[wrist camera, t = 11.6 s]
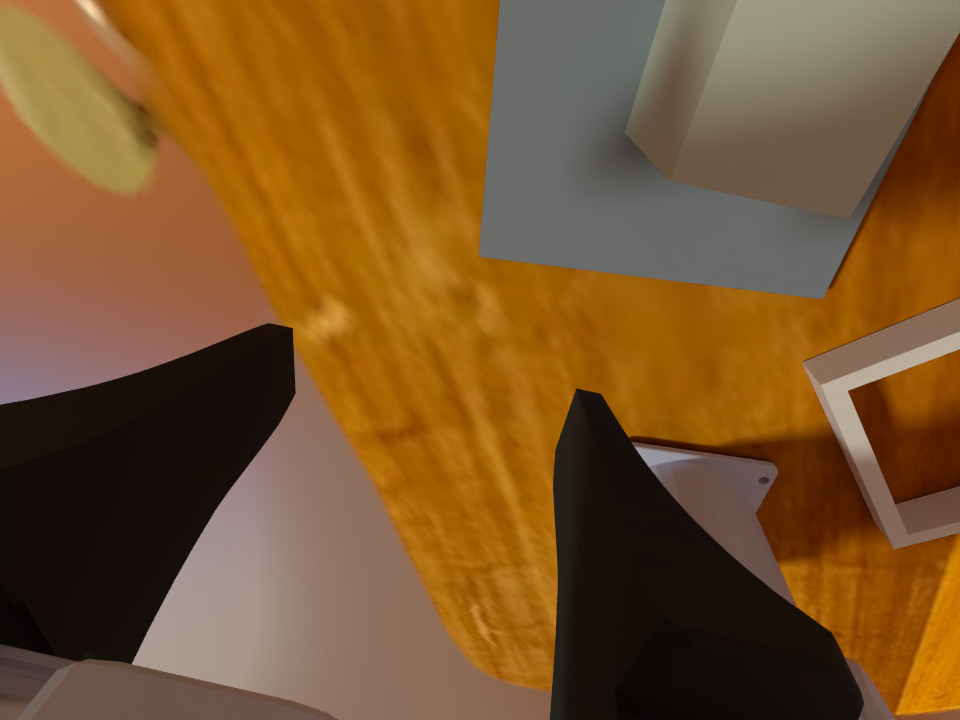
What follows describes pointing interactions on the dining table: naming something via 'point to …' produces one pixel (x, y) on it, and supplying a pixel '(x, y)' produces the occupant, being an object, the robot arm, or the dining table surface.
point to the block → (786, 93)
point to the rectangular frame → (832, 382)
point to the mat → (625, 167)
